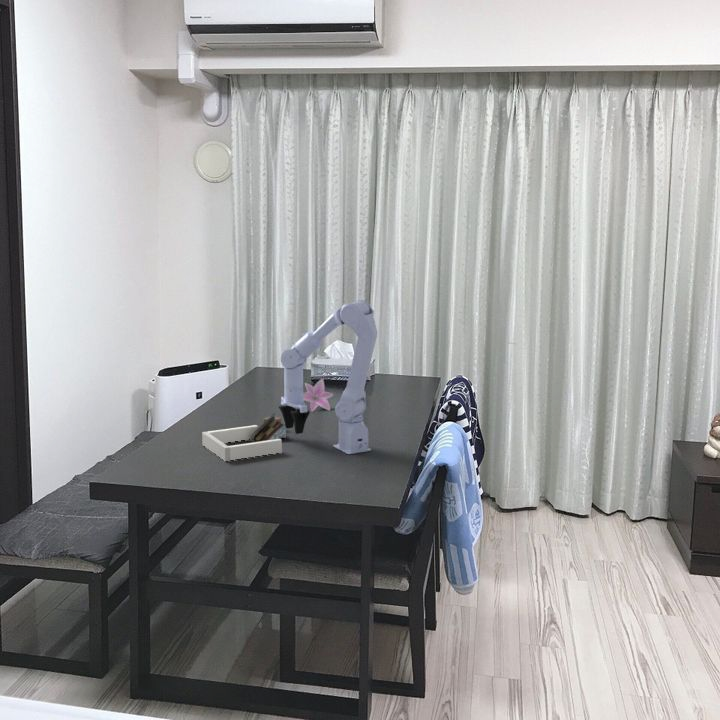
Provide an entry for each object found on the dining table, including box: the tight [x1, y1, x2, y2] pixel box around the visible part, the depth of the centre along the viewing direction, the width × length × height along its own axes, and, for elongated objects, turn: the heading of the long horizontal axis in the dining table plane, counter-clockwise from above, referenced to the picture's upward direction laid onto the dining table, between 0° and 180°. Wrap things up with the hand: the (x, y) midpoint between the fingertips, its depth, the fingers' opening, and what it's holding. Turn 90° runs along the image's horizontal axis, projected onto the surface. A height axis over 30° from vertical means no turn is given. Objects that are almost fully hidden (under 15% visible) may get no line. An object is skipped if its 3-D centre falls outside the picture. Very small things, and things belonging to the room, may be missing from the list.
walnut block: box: [263, 416, 282, 423], centre depth 272 cm, size 4×4×4 cm
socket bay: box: [201, 424, 283, 462], centre depth 251 cm, size 19×18×4 cm
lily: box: [303, 378, 334, 412], centre depth 300 cm, size 12×12×10 cm
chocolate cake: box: [249, 412, 287, 442], centre depth 262 cm, size 10×7×12 cm
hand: (294, 430), depth 259 cm, fingers open, 6 cm apart
